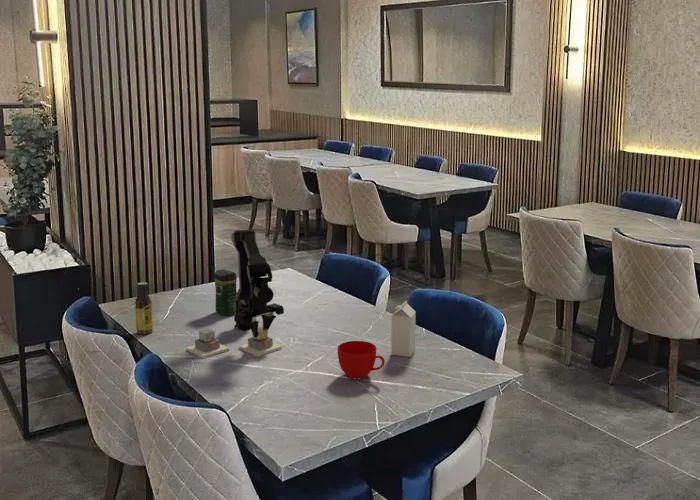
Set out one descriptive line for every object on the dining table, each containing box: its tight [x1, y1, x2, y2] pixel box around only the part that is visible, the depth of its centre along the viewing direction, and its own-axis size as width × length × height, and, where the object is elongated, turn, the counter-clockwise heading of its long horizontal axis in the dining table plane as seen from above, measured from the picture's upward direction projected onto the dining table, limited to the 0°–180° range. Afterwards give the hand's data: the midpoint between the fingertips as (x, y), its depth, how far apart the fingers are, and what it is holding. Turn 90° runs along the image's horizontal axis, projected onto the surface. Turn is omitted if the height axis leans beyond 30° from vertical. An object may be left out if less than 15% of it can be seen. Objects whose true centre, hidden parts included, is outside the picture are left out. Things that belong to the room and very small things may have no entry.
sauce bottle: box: [134, 281, 154, 335], centre depth 289 cm, size 7×6×20 cm
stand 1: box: [185, 337, 230, 359], centre depth 272 cm, size 11×11×4 cm
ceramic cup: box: [337, 340, 386, 380], centre depth 249 cm, size 13×17×10 cm
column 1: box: [198, 328, 216, 343], centre depth 272 cm, size 4×4×6 cm
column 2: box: [251, 326, 269, 342], centre depth 274 cm, size 4×4×6 cm
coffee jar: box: [213, 268, 238, 317], centre depth 313 cm, size 10×8×19 cm
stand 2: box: [238, 336, 282, 357], centre depth 274 cm, size 11×11×4 cm
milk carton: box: [390, 300, 417, 358], centre depth 269 cm, size 7×7×19 cm
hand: (260, 335), depth 273 cm, fingers closed on column 2, 4 cm apart
